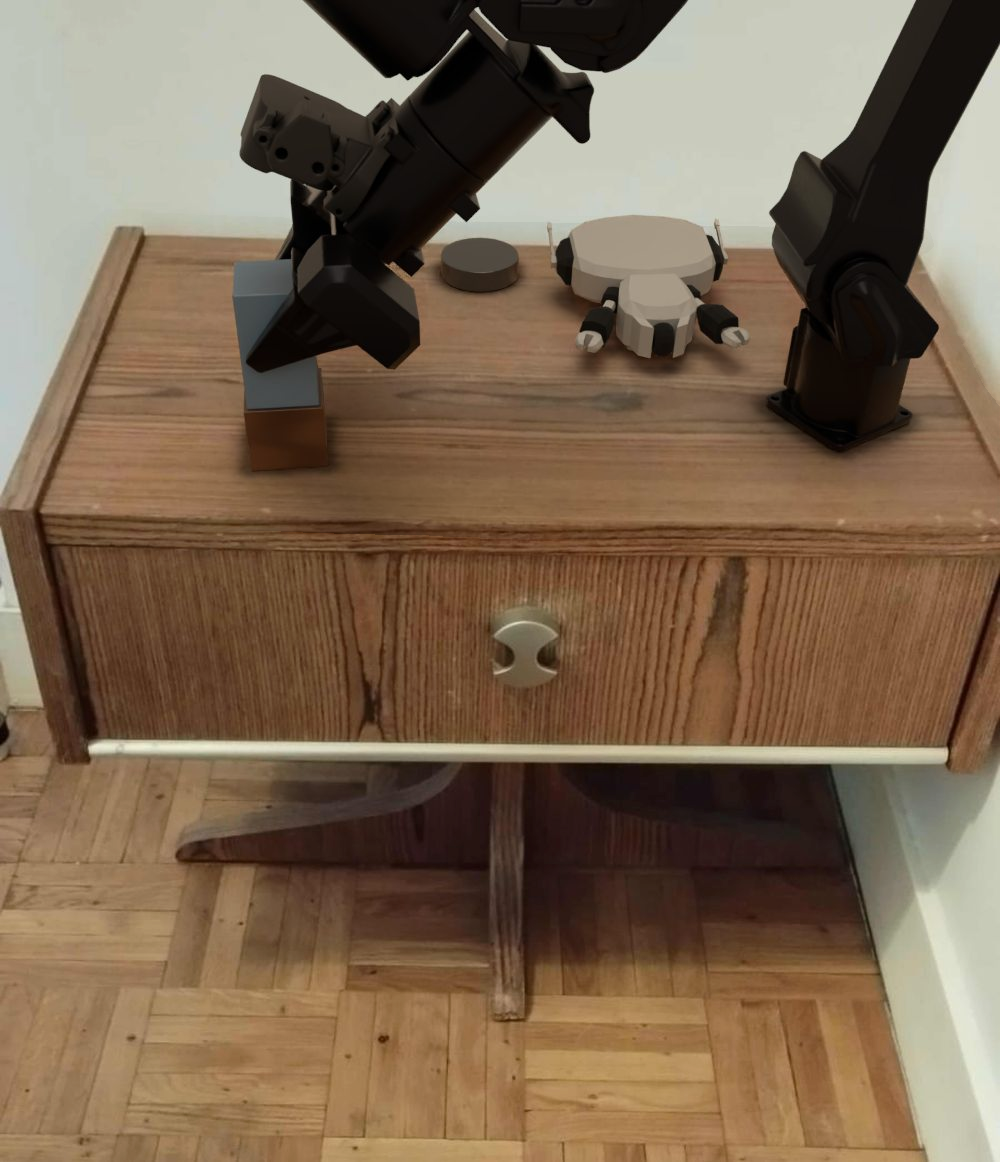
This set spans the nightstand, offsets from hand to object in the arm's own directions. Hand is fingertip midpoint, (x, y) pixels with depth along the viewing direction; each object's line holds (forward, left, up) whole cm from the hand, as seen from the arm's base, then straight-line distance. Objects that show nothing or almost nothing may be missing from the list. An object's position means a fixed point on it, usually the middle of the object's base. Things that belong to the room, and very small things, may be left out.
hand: (252, 342), depth 71 cm
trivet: (+12, -23, -7) cm, 27 cm away
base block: (-1, -1, -7) cm, 7 cm away
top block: (-1, -1, -3) cm, 3 cm away
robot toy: (0, -29, -7) cm, 30 cm away
